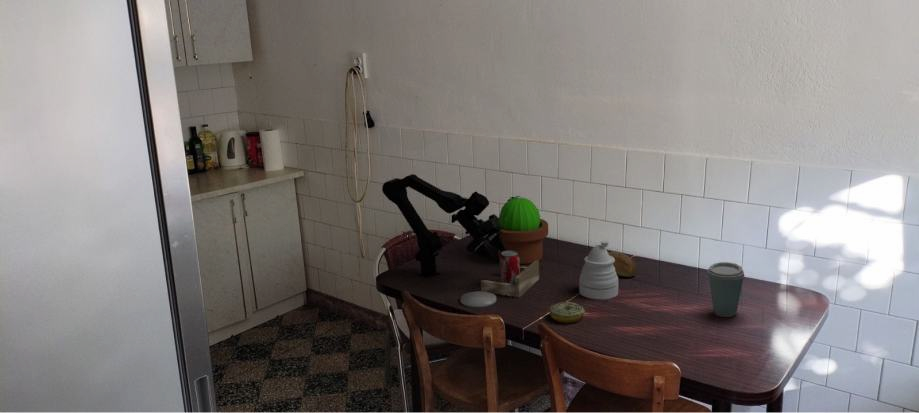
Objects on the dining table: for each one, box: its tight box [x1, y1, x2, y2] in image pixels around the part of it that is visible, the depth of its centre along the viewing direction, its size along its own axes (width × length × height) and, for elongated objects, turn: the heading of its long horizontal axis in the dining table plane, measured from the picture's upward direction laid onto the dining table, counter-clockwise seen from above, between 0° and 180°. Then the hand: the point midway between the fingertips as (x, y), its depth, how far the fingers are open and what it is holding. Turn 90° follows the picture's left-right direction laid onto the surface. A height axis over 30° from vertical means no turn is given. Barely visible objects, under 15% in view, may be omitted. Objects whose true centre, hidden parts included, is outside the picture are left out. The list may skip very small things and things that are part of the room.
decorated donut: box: [548, 301, 586, 324], centre depth 215 cm, size 10×11×4 cm
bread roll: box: [608, 251, 638, 278], centre depth 249 cm, size 10×15×8 cm, turn 49°
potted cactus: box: [497, 195, 549, 265], centre depth 269 cm, size 22×22×25 cm
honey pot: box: [578, 240, 619, 300], centre depth 232 cm, size 13×13×18 cm
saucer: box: [460, 290, 497, 308], centre depth 232 cm, size 12×12×1 cm
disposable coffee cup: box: [706, 261, 745, 318], centre depth 211 cm, size 11×11×15 cm
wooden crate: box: [480, 260, 540, 298], centre depth 243 cm, size 14×18×7 cm
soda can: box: [499, 250, 521, 284], centre depth 242 cm, size 7×7×12 cm
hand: (500, 256), depth 243 cm, fingers open, 9 cm apart
